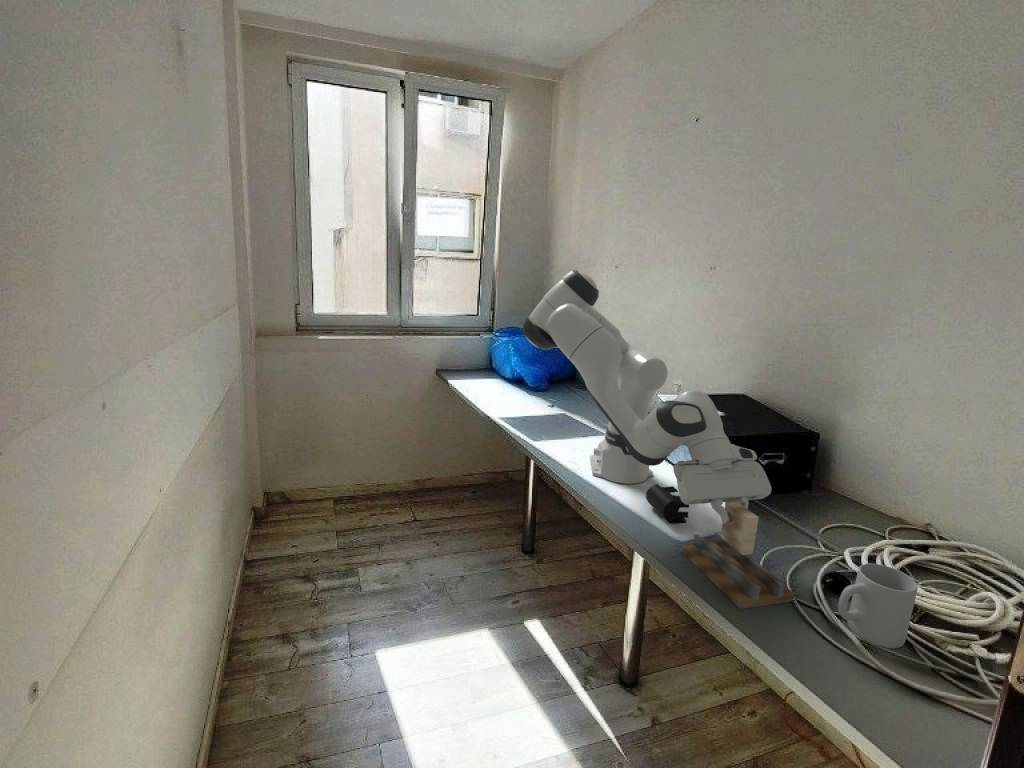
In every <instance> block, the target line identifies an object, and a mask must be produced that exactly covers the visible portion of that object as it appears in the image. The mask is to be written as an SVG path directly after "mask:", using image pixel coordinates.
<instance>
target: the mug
mask: <svg viewBox="0 0 1024 768" xmlns="http://www.w3.org/2000/svg"><path fill="white" fill-rule="evenodd" d="M918 588H919V587H918V584H917V582H916V581H915V579H913V577H911V576H909V575H908V574H906V573H905V572H902V571H901V570H898V569H896V568H893V567H890V566H887V565H883V564H878V563H864V564H861V565H860V566H859V567H858V570H857V575H856V578H855V583H854V584H849V585H847V586H846V587H844V588H843V590H842V592H841V594H840V597H839V600H838V613H839V615H840V617H841V618H842V619H843V620H845V621H847V625H848V628H850V631H852V632H853V633H854V634H855V635H856V636H858V637H859V638H861V639H862V640H864V641H866V642H868V643H870V644H872V643H873V645H874V644H875V646H877V645H878V647H881V648H885V649H898V648H901V647H903V646H905V645H904V644H906V640H907V637H908V631H909V626H910V622H911V618H912V614H913V610H914V606H915V602H916V598H917V593H918ZM850 598H851V602H850V607H849V610H847V609H848V603H849V601H850Z"/></svg>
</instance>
